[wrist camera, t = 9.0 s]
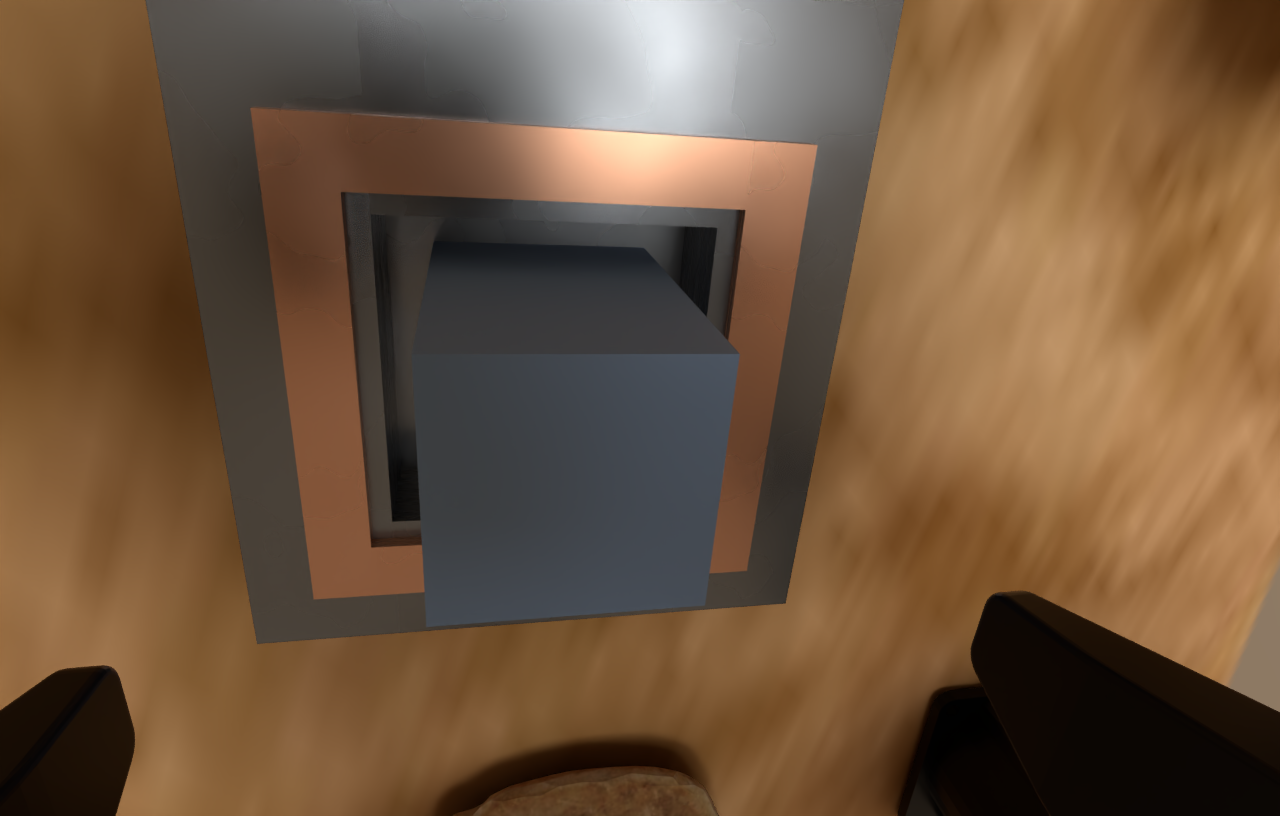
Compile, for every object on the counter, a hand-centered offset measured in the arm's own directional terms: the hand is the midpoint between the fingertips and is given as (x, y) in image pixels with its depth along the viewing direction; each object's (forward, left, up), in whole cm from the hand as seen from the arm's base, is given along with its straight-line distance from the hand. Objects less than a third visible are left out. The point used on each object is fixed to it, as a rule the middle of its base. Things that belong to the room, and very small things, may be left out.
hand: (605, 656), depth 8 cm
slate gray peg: (0, 0, -10) cm, 10 cm away
